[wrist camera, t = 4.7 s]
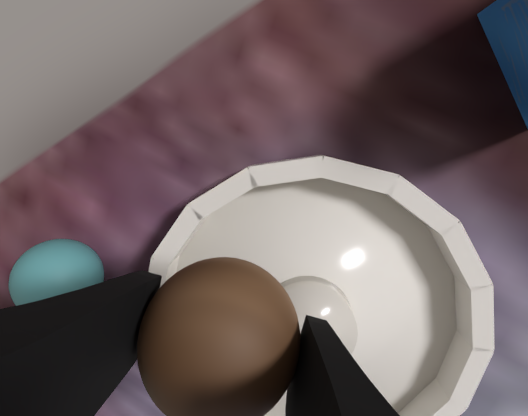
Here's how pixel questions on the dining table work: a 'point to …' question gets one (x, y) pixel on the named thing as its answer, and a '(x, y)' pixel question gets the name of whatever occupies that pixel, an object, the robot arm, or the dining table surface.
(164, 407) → the walnut bead
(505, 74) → the perfume bottle
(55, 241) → the teal bead
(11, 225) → the dining table surface
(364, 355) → the tray
